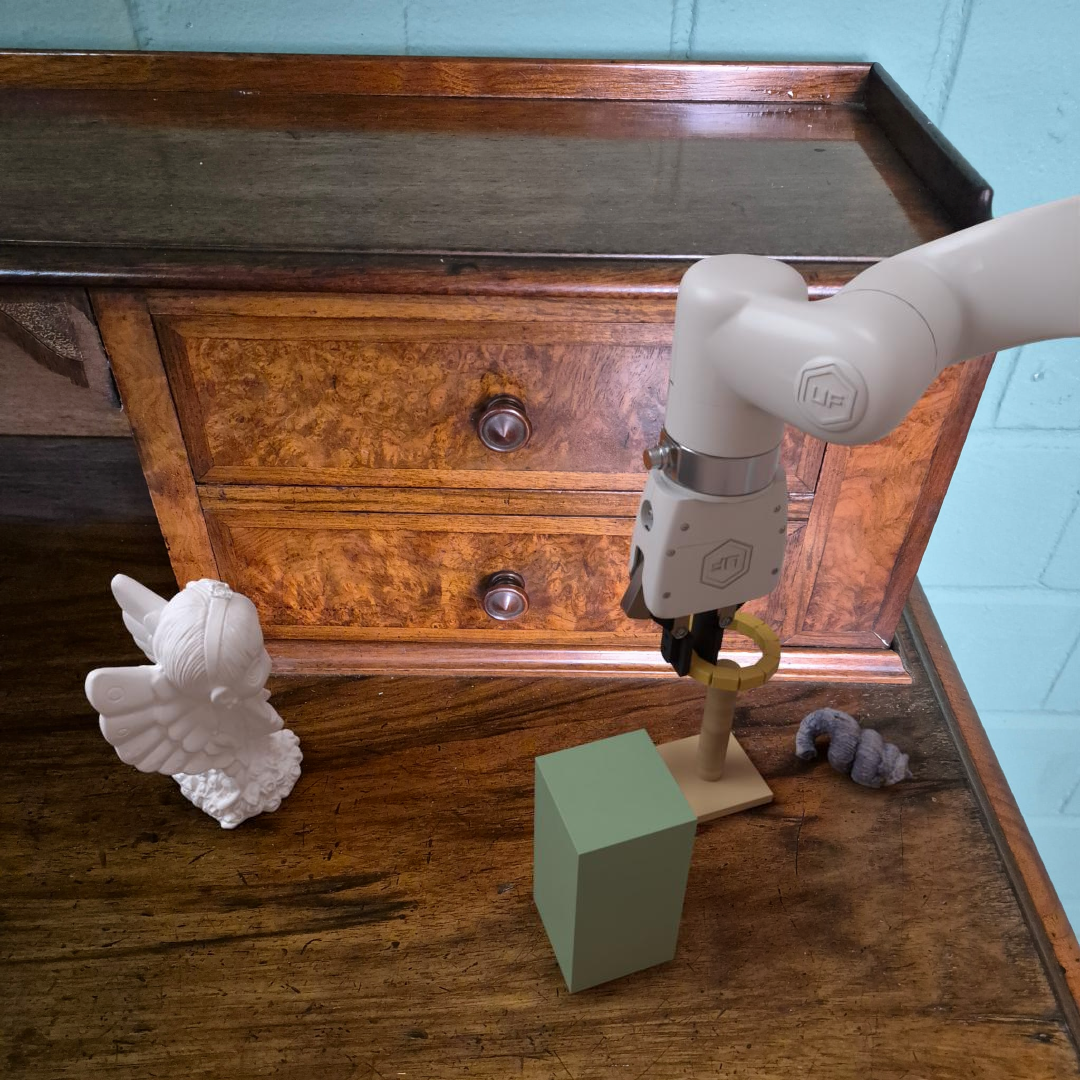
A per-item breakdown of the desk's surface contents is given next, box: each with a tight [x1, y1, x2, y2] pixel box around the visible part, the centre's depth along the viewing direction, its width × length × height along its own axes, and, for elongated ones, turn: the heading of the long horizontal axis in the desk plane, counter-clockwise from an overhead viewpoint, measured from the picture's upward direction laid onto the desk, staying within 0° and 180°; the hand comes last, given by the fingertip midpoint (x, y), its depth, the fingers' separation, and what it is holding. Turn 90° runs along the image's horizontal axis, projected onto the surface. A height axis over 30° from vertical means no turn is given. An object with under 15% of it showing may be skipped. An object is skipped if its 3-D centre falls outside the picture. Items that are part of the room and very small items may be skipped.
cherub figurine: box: [84, 573, 304, 830], centre depth 75 cm, size 13×12×20 cm
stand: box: [532, 728, 698, 995], centre depth 66 cm, size 8×8×16 cm
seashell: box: [795, 706, 914, 789], centre depth 82 cm, size 5×5×10 cm
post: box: [655, 658, 774, 825], centre depth 78 cm, size 8×8×13 cm
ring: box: [687, 609, 782, 692], centre depth 73 cm, size 8×8×1 cm
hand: (688, 659), depth 72 cm, fingers closed on ring
